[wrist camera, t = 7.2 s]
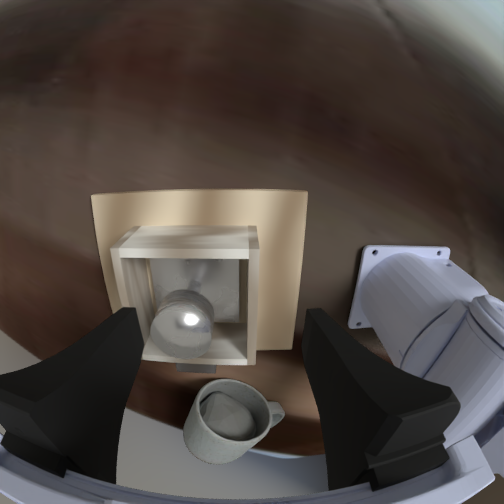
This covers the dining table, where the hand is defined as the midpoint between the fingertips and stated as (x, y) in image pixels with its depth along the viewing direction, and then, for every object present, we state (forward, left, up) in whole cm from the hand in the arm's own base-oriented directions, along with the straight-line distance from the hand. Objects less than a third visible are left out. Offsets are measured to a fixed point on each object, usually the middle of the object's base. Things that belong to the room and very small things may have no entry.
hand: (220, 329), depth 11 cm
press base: (+3, +3, -10) cm, 11 cm away
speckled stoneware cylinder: (0, +19, -11) cm, 22 cm away
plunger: (+3, +3, -11) cm, 11 cm away
